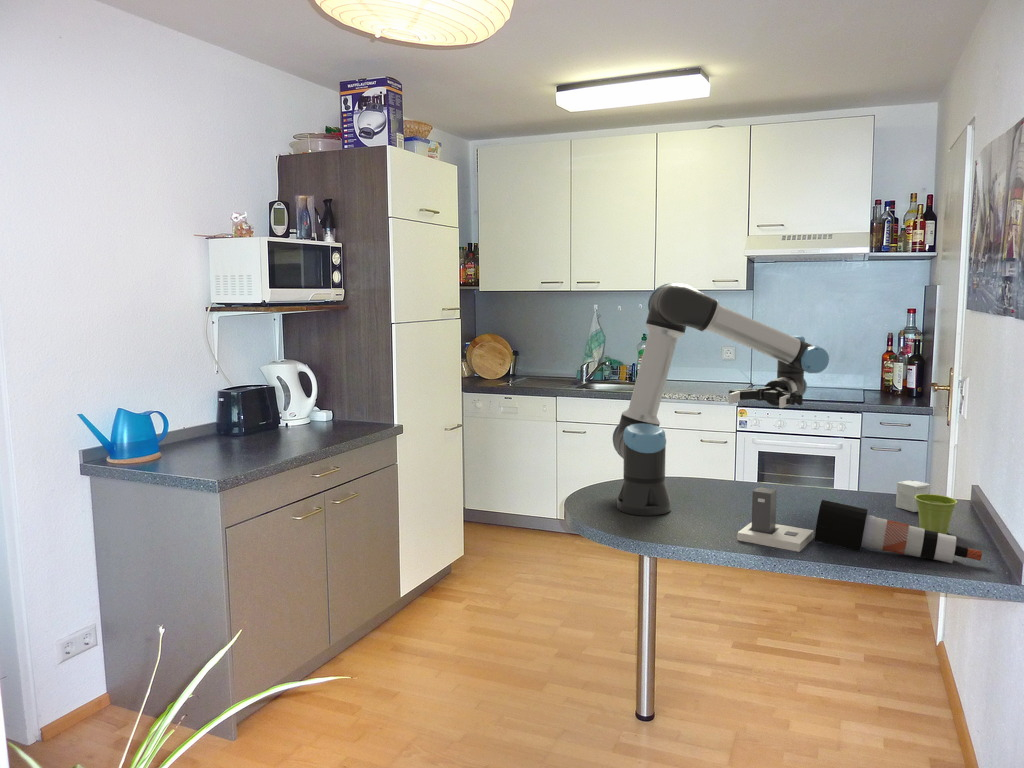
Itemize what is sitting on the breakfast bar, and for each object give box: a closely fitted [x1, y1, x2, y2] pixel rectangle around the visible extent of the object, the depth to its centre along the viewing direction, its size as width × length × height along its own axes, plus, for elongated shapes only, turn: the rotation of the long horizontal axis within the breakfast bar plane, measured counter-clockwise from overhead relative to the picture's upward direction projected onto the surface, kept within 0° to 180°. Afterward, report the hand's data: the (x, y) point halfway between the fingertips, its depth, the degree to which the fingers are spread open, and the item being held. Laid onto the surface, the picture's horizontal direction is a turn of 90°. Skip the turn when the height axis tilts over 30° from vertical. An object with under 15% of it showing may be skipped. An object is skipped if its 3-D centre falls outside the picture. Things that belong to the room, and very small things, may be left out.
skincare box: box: [895, 479, 931, 513], centre depth 213 cm, size 6×6×7 cm
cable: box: [814, 499, 983, 564], centre depth 177 cm, size 10×34×10 cm, turn 62°
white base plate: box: [736, 521, 815, 553], centre depth 189 cm, size 15×12×2 cm
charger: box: [751, 486, 778, 535], centre depth 190 cm, size 4×5×12 cm
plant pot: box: [915, 493, 958, 535], centre depth 193 cm, size 9×9×9 cm
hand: (754, 400), depth 203 cm, fingers open, 13 cm apart
